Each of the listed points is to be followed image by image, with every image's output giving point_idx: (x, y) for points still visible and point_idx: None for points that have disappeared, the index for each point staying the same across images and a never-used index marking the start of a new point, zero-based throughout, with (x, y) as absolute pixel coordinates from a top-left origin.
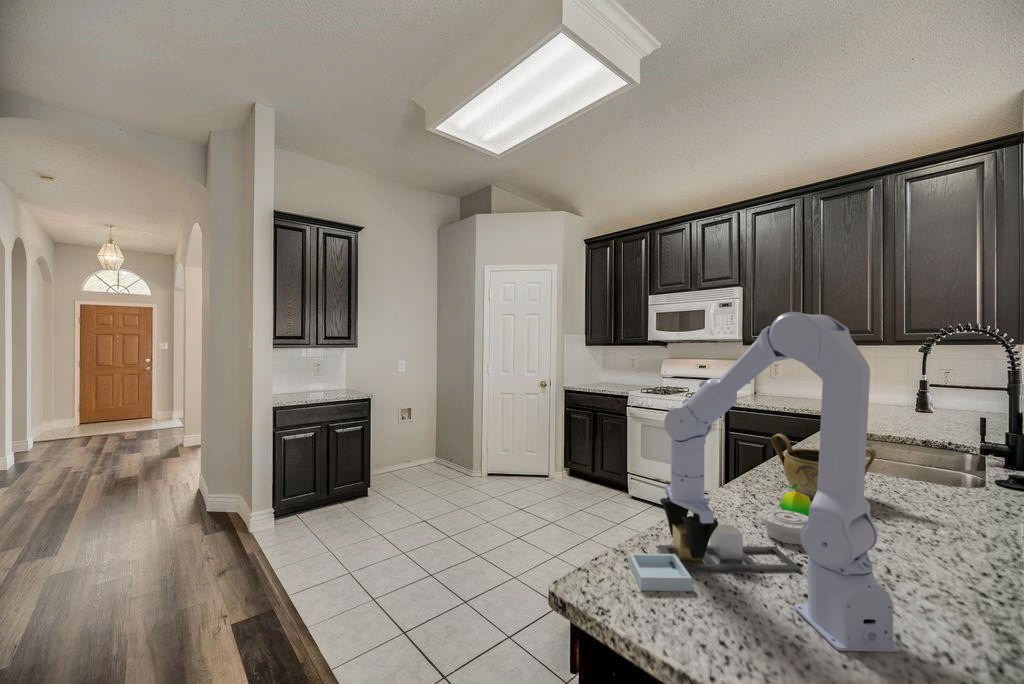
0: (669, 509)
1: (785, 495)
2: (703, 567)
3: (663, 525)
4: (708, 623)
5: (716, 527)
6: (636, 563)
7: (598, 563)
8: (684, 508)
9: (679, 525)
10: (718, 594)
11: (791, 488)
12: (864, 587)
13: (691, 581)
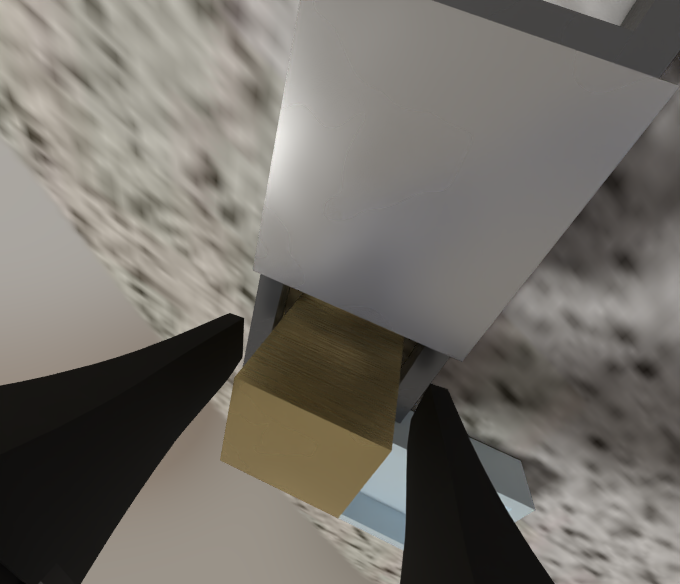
0: (112, 515)
1: None
2: (446, 360)
3: (45, 184)
4: (675, 543)
5: (333, 279)
6: (367, 528)
7: (293, 497)
8: (76, 457)
9: (244, 453)
10: (597, 420)
11: None
12: None
13: (528, 496)
